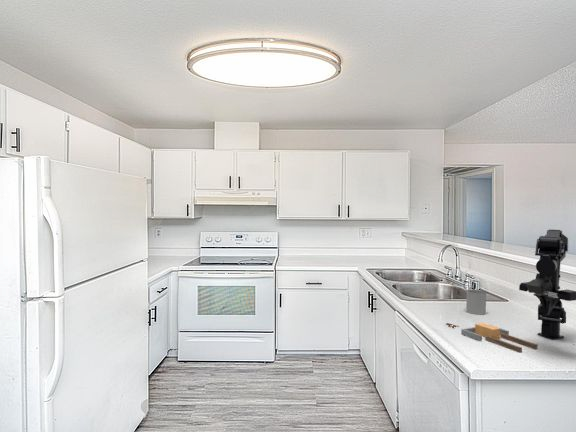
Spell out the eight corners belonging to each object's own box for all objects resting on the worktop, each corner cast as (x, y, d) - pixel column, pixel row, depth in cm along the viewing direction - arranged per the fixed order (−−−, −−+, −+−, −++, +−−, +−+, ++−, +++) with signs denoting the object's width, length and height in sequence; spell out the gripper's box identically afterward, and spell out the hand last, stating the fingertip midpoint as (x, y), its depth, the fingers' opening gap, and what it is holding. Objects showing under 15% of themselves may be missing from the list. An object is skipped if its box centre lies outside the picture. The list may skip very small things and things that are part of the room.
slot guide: (502, 336, 159) (502, 333, 159) (537, 348, 147) (537, 344, 146) (485, 339, 155) (485, 336, 155) (519, 352, 143) (519, 348, 143)
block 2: (490, 335, 161) (491, 325, 161) (499, 338, 157) (500, 328, 157) (483, 336, 159) (483, 326, 159) (492, 340, 156) (492, 329, 155)
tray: (489, 329, 168) (489, 324, 168) (508, 336, 160) (508, 331, 160) (461, 334, 162) (461, 329, 162) (480, 341, 154) (480, 335, 154)
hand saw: (407, 316, 189) (407, 314, 189) (413, 314, 192) (413, 313, 192) (453, 329, 169) (453, 328, 169) (460, 327, 172) (460, 326, 172)
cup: (486, 315, 190) (487, 294, 190) (467, 313, 192) (467, 292, 192) (484, 311, 198) (484, 290, 198) (465, 309, 200) (466, 289, 200)
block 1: (482, 332, 165) (482, 322, 164) (490, 335, 161) (491, 325, 161) (474, 333, 163) (475, 324, 163) (483, 337, 159) (483, 326, 159)
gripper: (509, 268, 152) (508, 310, 153) (559, 277, 135) (558, 324, 136) (530, 267, 157) (528, 307, 157) (581, 275, 140) (579, 320, 140)
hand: (547, 314), depth 147 cm, fingers closed
